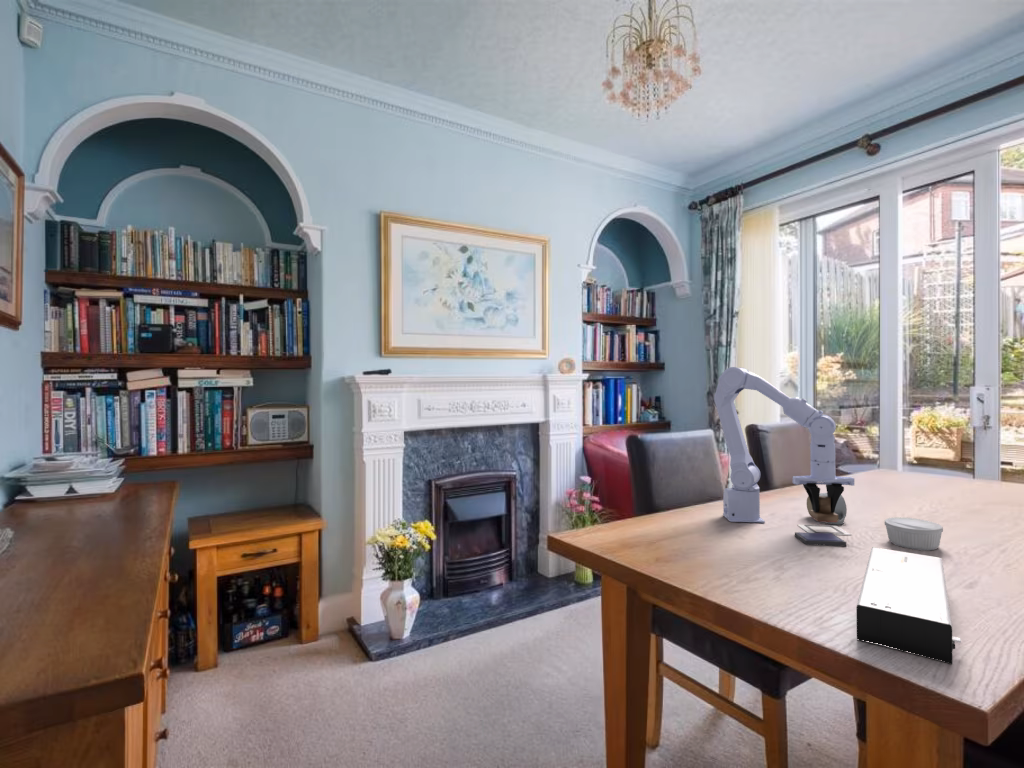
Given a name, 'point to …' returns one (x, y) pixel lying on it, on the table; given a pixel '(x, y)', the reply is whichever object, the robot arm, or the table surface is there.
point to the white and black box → (906, 604)
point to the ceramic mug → (839, 509)
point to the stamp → (824, 511)
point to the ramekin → (914, 533)
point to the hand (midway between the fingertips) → (823, 511)
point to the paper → (824, 529)
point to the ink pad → (820, 539)
